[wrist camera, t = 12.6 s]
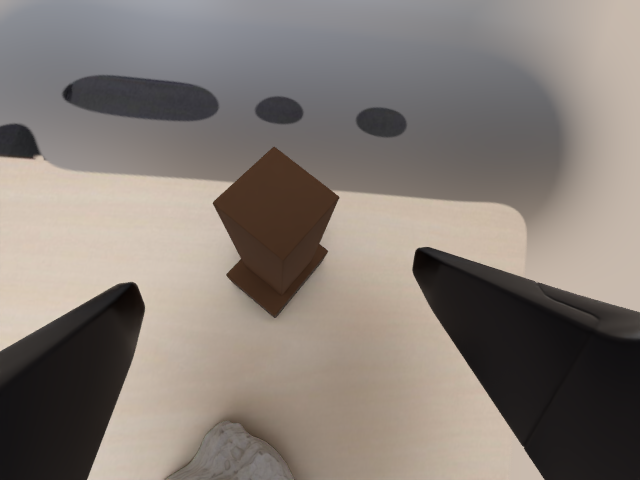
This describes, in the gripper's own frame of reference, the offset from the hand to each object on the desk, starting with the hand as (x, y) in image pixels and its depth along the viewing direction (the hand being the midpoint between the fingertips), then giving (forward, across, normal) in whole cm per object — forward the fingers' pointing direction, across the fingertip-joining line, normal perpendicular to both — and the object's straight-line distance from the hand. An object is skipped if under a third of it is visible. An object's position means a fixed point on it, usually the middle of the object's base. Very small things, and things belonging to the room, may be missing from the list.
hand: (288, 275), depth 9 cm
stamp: (+12, 0, +7) cm, 14 cm away
